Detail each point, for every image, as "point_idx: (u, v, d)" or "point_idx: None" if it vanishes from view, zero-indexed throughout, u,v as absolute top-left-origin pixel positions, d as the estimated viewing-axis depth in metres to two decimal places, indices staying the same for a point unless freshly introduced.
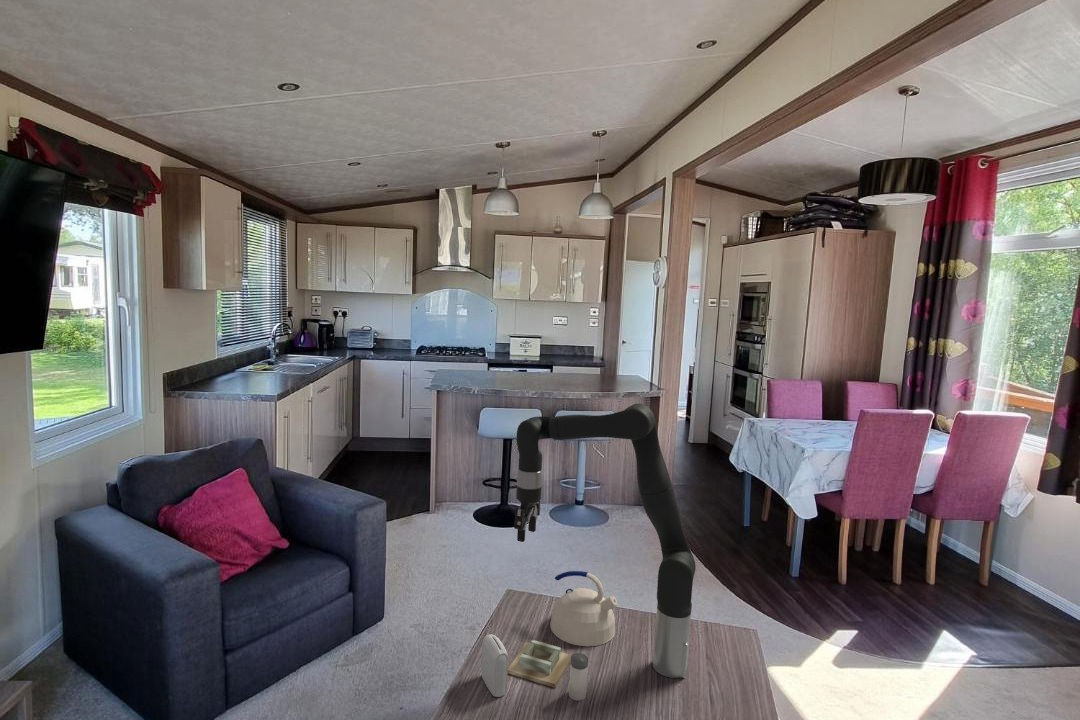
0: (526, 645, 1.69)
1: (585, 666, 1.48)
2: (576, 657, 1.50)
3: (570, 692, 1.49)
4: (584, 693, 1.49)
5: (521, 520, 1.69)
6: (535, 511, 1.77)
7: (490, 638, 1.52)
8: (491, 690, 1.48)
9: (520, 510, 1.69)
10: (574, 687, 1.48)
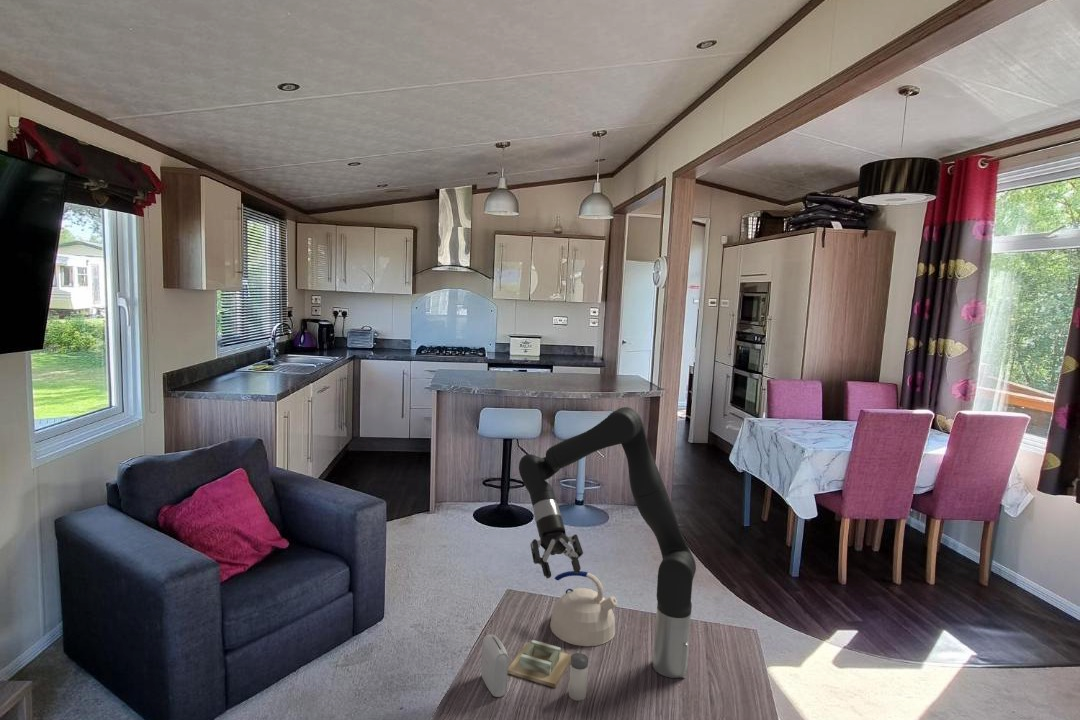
0: (526, 645, 1.69)
1: (585, 666, 1.48)
2: (576, 657, 1.50)
3: (570, 692, 1.49)
4: (584, 693, 1.49)
5: (534, 550, 1.59)
6: (565, 545, 1.62)
7: (490, 638, 1.52)
8: (491, 690, 1.48)
9: (532, 541, 1.61)
10: (574, 687, 1.48)
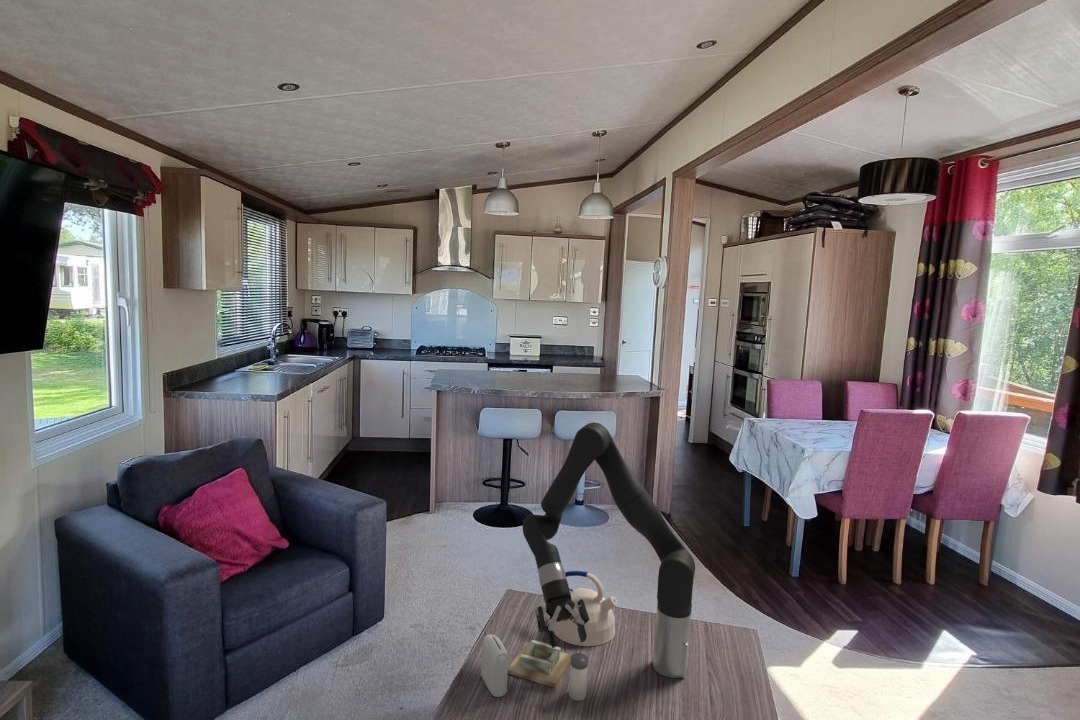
0: (526, 645, 1.69)
1: (585, 666, 1.48)
2: (576, 657, 1.50)
3: (570, 692, 1.49)
4: (584, 693, 1.49)
5: (539, 618, 1.55)
6: (570, 612, 1.58)
7: (490, 638, 1.52)
8: (491, 690, 1.48)
9: (537, 608, 1.58)
10: (574, 687, 1.48)
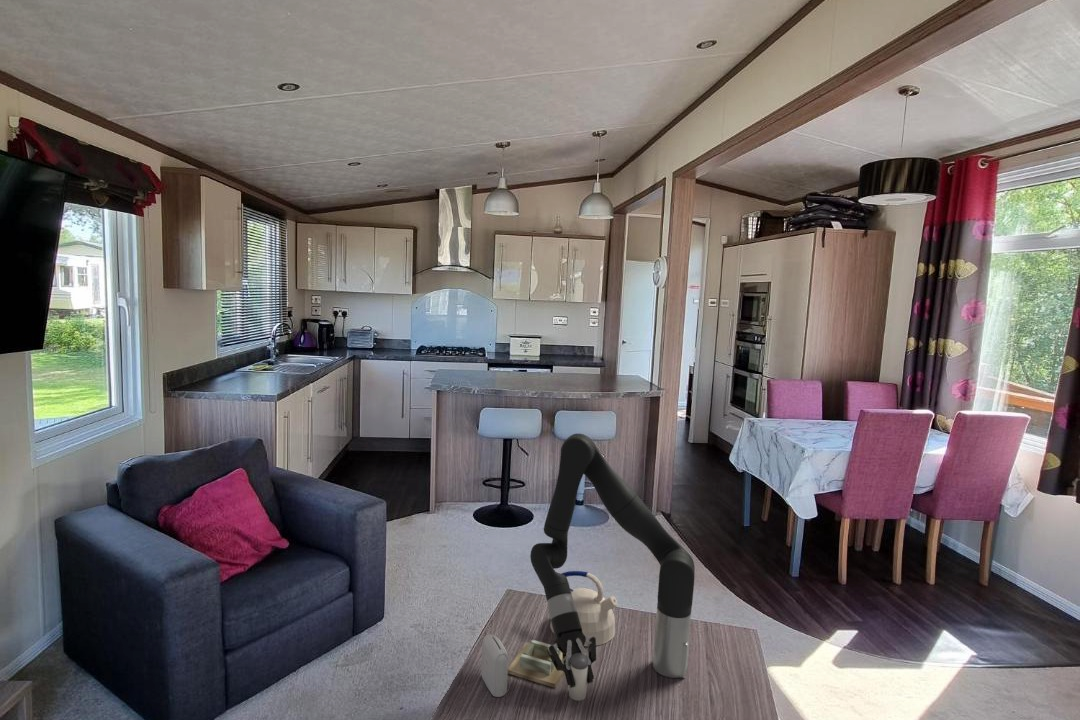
0: (526, 645, 1.69)
1: (585, 666, 1.48)
2: (576, 657, 1.50)
3: (570, 692, 1.49)
4: (584, 693, 1.49)
5: (554, 658, 1.49)
6: (580, 647, 1.52)
7: (490, 638, 1.52)
8: (491, 690, 1.48)
9: (548, 648, 1.51)
10: (574, 687, 1.48)
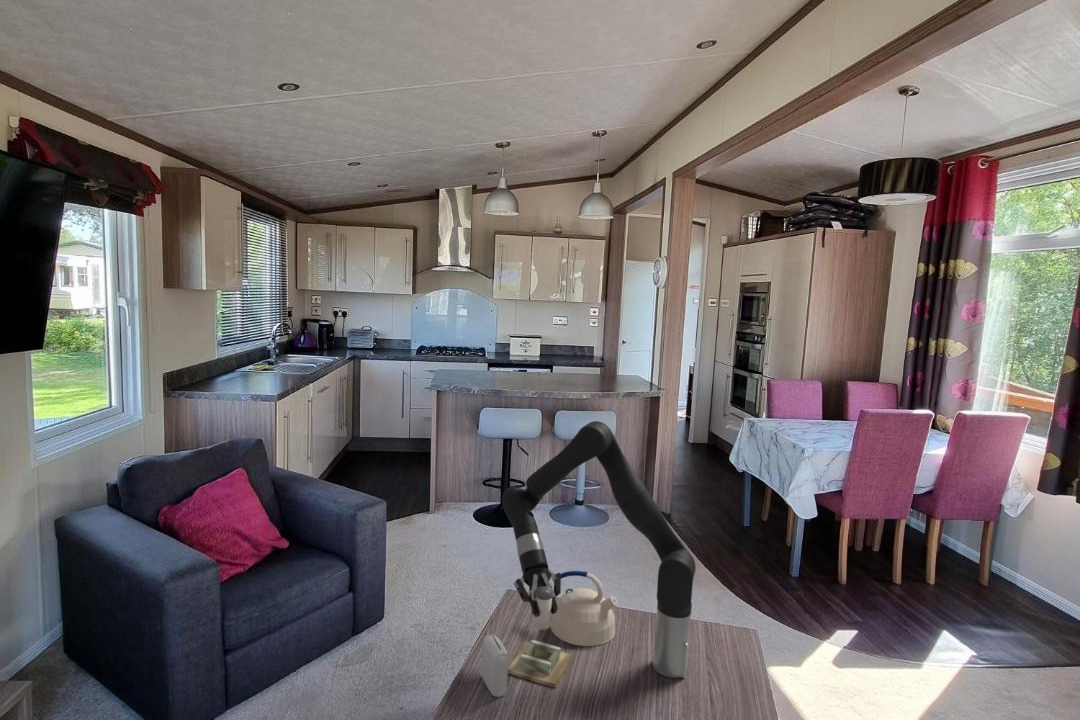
0: (526, 645, 1.69)
1: (549, 597, 1.58)
2: (541, 589, 1.60)
3: (535, 622, 1.59)
4: (548, 623, 1.59)
5: (520, 590, 1.59)
6: (545, 581, 1.62)
7: (490, 638, 1.52)
8: (491, 690, 1.48)
9: (515, 581, 1.61)
10: (539, 617, 1.58)
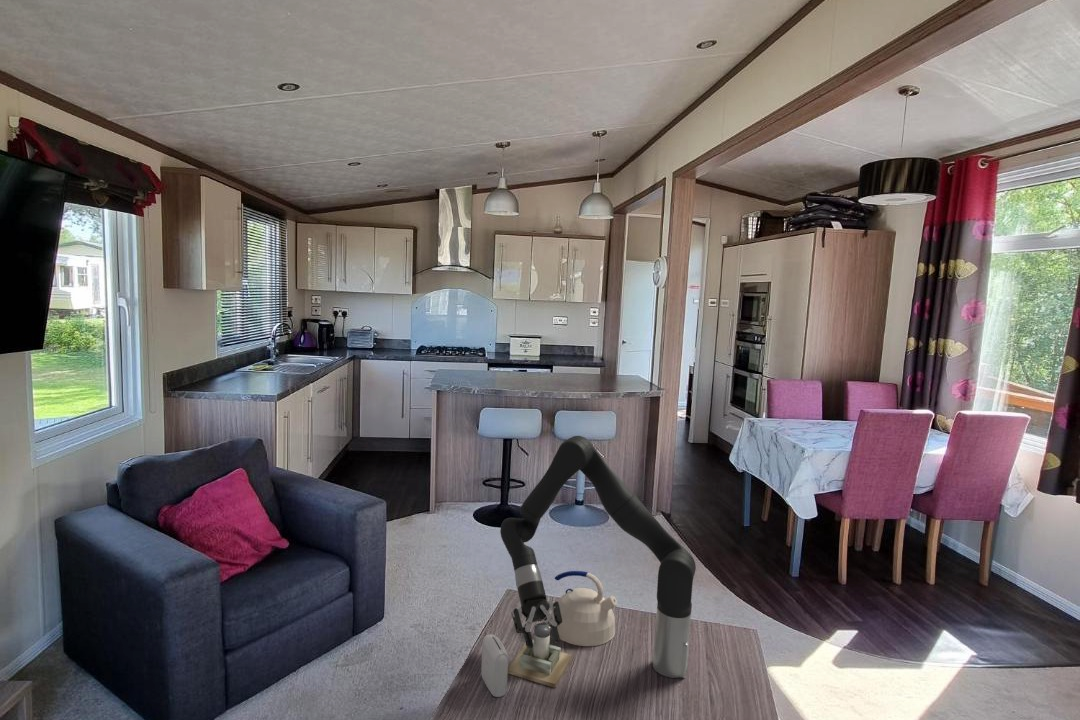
0: None
1: (547, 635, 1.59)
2: (539, 626, 1.61)
3: None
4: (546, 660, 1.60)
5: (516, 620, 1.60)
6: (545, 613, 1.63)
7: (490, 638, 1.52)
8: (491, 690, 1.48)
9: (513, 610, 1.62)
10: (537, 654, 1.59)
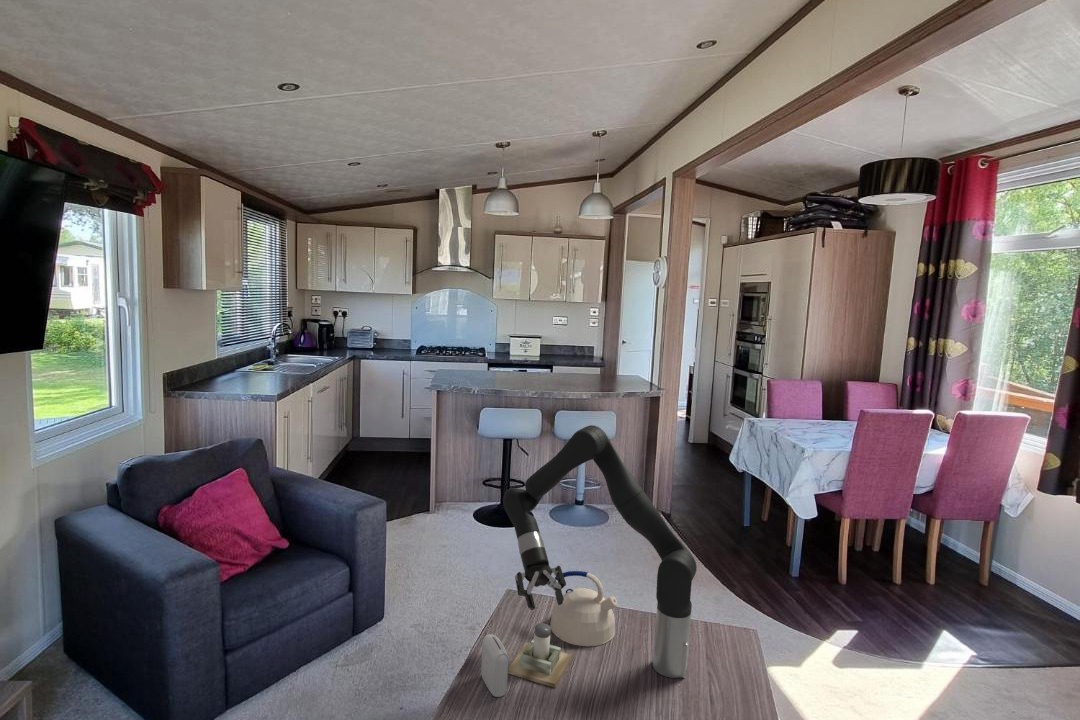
0: (526, 645, 1.69)
1: (547, 635, 1.59)
2: (540, 626, 1.61)
3: None
4: (546, 660, 1.60)
5: (518, 583, 1.65)
6: (548, 577, 1.68)
7: (490, 638, 1.52)
8: (491, 690, 1.48)
9: (516, 574, 1.67)
10: (537, 654, 1.59)
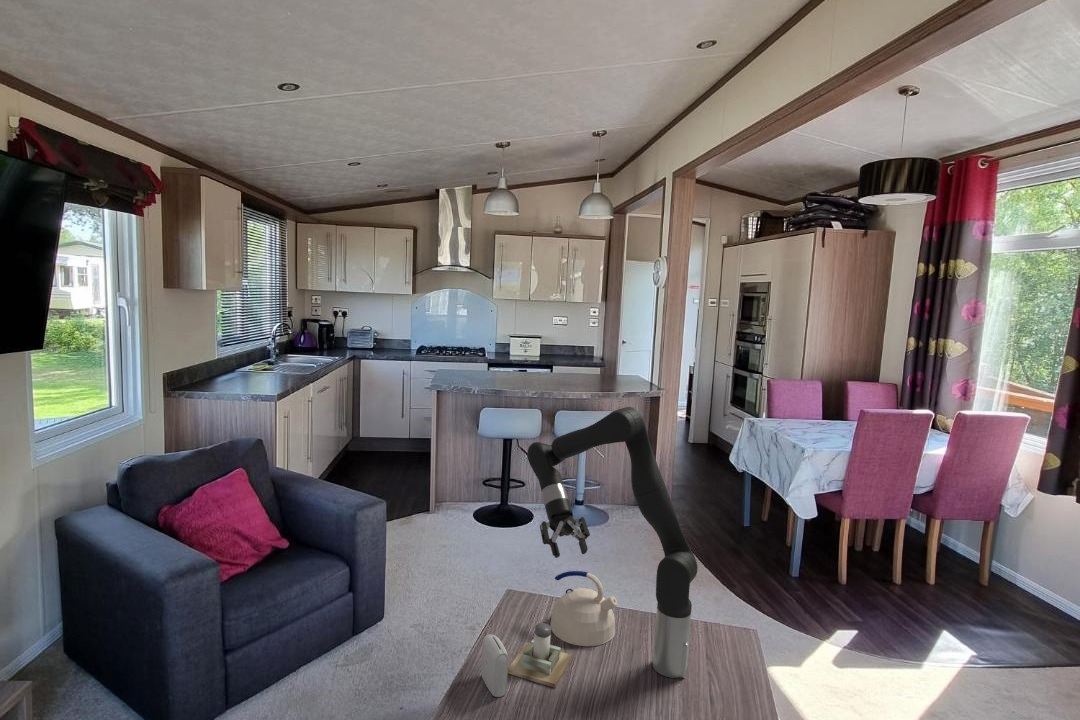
0: (526, 645, 1.69)
1: (548, 635, 1.59)
2: (540, 626, 1.61)
3: None
4: (546, 660, 1.60)
5: (543, 531, 1.67)
6: (572, 527, 1.70)
7: (490, 638, 1.52)
8: (491, 690, 1.48)
9: (541, 523, 1.69)
10: (537, 654, 1.59)
